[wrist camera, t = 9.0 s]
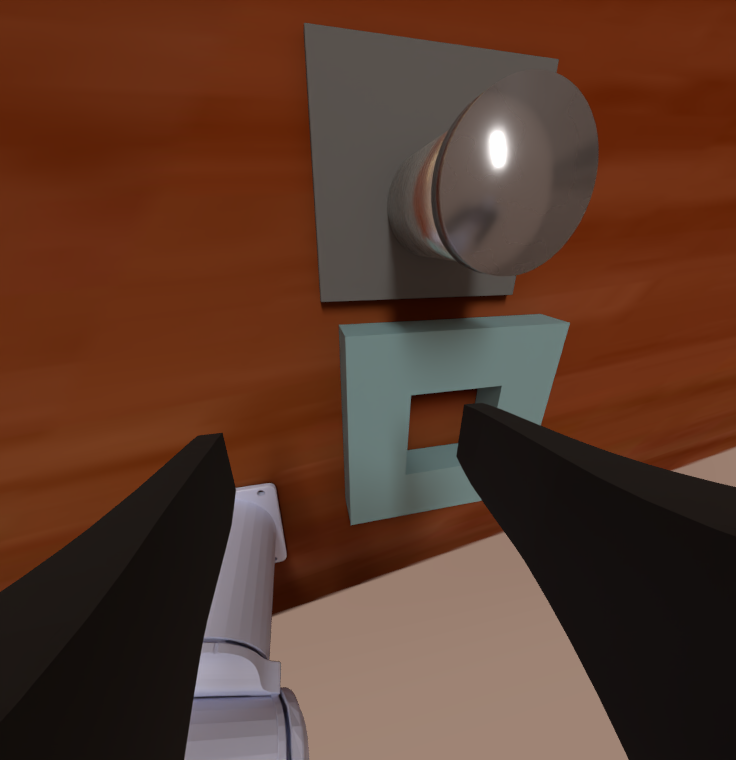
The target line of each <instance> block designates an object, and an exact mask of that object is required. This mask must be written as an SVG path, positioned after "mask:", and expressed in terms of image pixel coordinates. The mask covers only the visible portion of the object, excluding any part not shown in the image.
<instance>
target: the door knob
mask: <svg viewBox="0 0 736 760" xmlns="http://www.w3.org/2000/svg"><path fill="white" fill-rule="evenodd" d="M597 167H598V136H597V130H596V125H595V121H594V118H593V115H592V111H591V109H590V107H589V105H588V103H587V101H586V99H585V98H584V96H583V95H582V93H581V92H580V90H579V89H578V88H577V87H576V86H575V85H574V84H573V83H572V82H571V81H569V80H568V79H566V78H565V77H564V76H562V75H559V74H557V73H555V72H552V71H548V70H543V69H529V70H524V71H519V72H516V73H514V74H511V75H509V76H506V77H505V78H503V79H501V80H500V81H498V82H496V83H495V84H494V85H492V86H491V87H490V88H488V89H487V90H486V91H484V92H483V93H482V94H480V95H479V96H478V97H477V98H475V99H474V100H473V101H472V102H470V103H469V104H468V105H467V106H466V107H465V109H464V110H463V111H462V112H461V113H460V114H459V116H458V117H457V118H456V120H455V121H454V122H453V124H452V125H451V127H450V129H449V130H448V131H446V132H445V133H443V134H442V135H440V136H439V137H437V138H436V139H434V140H433V141H432V142H430V143H429V144H427V145H426V146H424V147H423V148H421V149H420V150H418V151H417V152H415V153H414V154H413V155H411V156H410V157H409V158H408V159H406V160H405V161H404V163H403V164H402V165H401V166H400V167H399V169H398V170H397V172H396V174H395V176H394V178H393V180H392V182H391V185H390V189H389V193H388V200H387V213H388V219H389V223H390V227H391V229H392V232H393V234H394V235H395V237H396V239H397V240H398V242H399V243H400V244H401V245H402V246H403V247H404V248H405V249H407V250H408V251H410V252H411V253H413V254H416V255H418V256H423V257H430V258H437V259H444V260H451V261H457V262H458V263H460V264H461V265H462V266H464V267H466V268H467V269H469V270H472V271H475V272H478V273H483V274H488V275H494V276H515V275H519V274H522V273H526V272H528V271H530V270H533V269H535V268H536V267H538V266H540V265H542V264H543V263H544V262H546V261H547V260H548V259H550V258H551V257H552V256H553V255H554V254H555V253H557V252H558V251H559V250H560V249H561V247H562V246H563V245H564V244H565V243H566V242H567V241H568V239H569V238H570V237H571V235H572V234H573V232H574V231H575V229H576V228H577V226H578V224H579V223H580V221H581V219H582V217H583V215H584V213H585V211H586V208H587V206H588V203H589V201H590V198H591V195H592V191H593V188H594V184H595V179H596V175H597Z"/></svg>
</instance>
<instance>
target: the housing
mask: <svg viewBox="0 0 736 760" xmlns="http://www.w3.org/2000/svg"><path fill="white" fill-rule="evenodd" d="M569 324H570V323H569V322H565V321H562V320H559V319H555V318H552V317H549V316H545V315H542V314H532V315H514V316H495V317H477V318H458V319H440V320H421V321H403V322H384V323H366V324H348V325H339V342H340V368H341V394H342V420H343V446H344V472H345V498H346V504H347V508H348V513H349V518H350V523H351V525H355V524H360V523H365V522H371V521H376V520H381V519H387V518H392V517H397V516H402V515H408V514H413V513H418V512H424V511H429V510H434V509H440V508H445V507H450V506H455V505H461V504H466V503H471V502H477V501H482V500H481V498H480V497H479V495H478V494H477V492H476V491H475V490H474V488H473V487H472V485H471V484H470V482H469V480H468V478H467V476H466V475H465V473H464V471H463V469H462V467H461V465H460V463H459V461H458V459H457V457H456V455H457V448H458V443H456V444H449V445H442V446H435V447H428V448H421V449H414V450H407V446H408V431H409V417H410V403H411V395H418V394H428V393H437V392H447V391H456V390H466V389H475V388H478V389H477V395H476V401H475V403H485V404H488V405H491V406H494V407H496V408H499V409H502V410H504V411H507V412H509V413H512V414H514V415H516V416H519V417H521V418H524V419H526V420H528V421H531V422H533V423H535V424H538V425H540V426H541V422H542V419H543V415H544V412H545V408H546V405H547V401H548V398H549V394H550V391H551V387H552V384H553V380H554V377H555V373H556V370H557V366H558V363H559V359H560V356H561V352H562V349H563V345H564V342H565V338H566V335H567V331H568V328H569Z"/></svg>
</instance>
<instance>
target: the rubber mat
mask: <svg viewBox="0 0 736 760" xmlns="http://www.w3.org/2000/svg"><path fill="white" fill-rule="evenodd" d="M304 45H305V61H306V77H307V93H308V109H309V125H310V141H311V157H312V173H313V189H314V206H315V222H316V238H317V254H318V270H319V286H320V300H321V302H333V301H359V300H386V299H412V298H438V297H464V296H490V295H512V294H513V289H514V284H515V279H516V275H515V276H494V275H488V274H483V273H478V272H475V271H472V270H469V269H467V268H466V267H464V266H462V265H461V264H460V263H458V262H457V261H451V260H444V259H437V258H430V257H423V256H418V255H416V254H413V253H411V252H410V251H408V250H407V249H405V248H404V247H403V246H402V245H401V244H400V243H399V242H398V240H397V239H396V237H395V235H394V234H393V232H392V229H391V227H390V223H389V219H388V213H387V200H388V193H389V189H390V185H391V182H392V180H393V178H394V176H395V174H396V172H397V170H398V169H399V167H400V166H401V165H402V164H403V163H404V161H405V160H406V159H408V158H409V157H410V156H411V155H413V154H414V153H415V152H417V151H418V150H420V149H421V148H423V147H424V146H426V145H427V144H429V143H430V142H432V141H433V140H434V139H436V138H437V137H439V136H440V135H442V134H443V133H445V132H446V131H448V130H449V129H450V127H451V125H452V124H453V122H454V121H455V120H456V118H457V117H458V116H459V114H460V113H461V112H462V111H463V110H464V109H465V107H466V106H467V105H468V104H469V103H470V102H472V101H473V100H474V99H475V98H477V97H478V96H479V95H480V94H482V93H483V92H484V91H486V90H487V89H488V88H490V87H491V86H492V85H494V84H495V83H496V82H498V81H500V80H501V79H503V78H505V77H506V76H509V75H511V74H514V73H516V72H519V71H524V70H529V69H543V70H548V71H552V72H555V73H556V71H557V66H558V61H559V59H553V58H546V57H539V56H532V55H525V54H518V53H511V52H504V51H497V50H490V49H483V48H476V47H469V46H462V45H455V44H448V43H441V42H434V41H427V40H420V39H413V38H407V37H400V36H393V35H386V34H379V33H372V32H365V31H358V30H351V29H344V28H337V27H330V26H323V25H316V24H309V23H304Z"/></svg>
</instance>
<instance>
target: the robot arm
mask: <svg viewBox="0 0 736 760" xmlns="http://www.w3.org/2000/svg"><path fill="white" fill-rule="evenodd" d="M456 457H457V459H458V461H459V463H460V465H461V467H462V469H463V471H464V473H465V475H466V476H467V478H468V480H469V482H470V484H471V485H472V487H473V488H474V490H475V491H476V492H477V494H478V495H479V497H480V498H481V500H482V501H483V502H484V504H485V505H486V507H487V508H488V510H489V511H490V512H491V514H492V515H493V517H494V518H495V519H496V521H497V522H498V523H499V525H500V526H501V528H502V529H503V530H504V532H505V533H506V535H507V536H508V537H509V539H510V540H511V542H512V543H513V544H514V546H515V547H516V549H517V550H518V552H519V553H520V555H521V556H522V558H523V559H524V561H525V562H526V564H527V566H528V567H529V569H530V571H531V572H532V574H533V576H534V578H535V579H536V581H537V582H538V584H539V586H540V588H541V589H542V591H543V593H544V595H545V596H546V598H547V600H548V601H549V603H550V605H551V607H552V609H553V611H554V612H555V614H556V616H557V618H558V620H559V621H560V623H561V625H562V627H563V629H564V631H565V632H566V634H567V636H568V638H569V640H570V642H571V643H572V645H573V647H574V649H575V651H576V653H577V655H578V657H579V659H580V661H581V663H582V665H583V667H584V669H585V670H586V673H587V675H588V677H589V678H590V680H591V682H592V684H593V686H594V688H595V690H596V692H597V694H598V696H599V698H600V700H601V702H602V704H603V706H604V709H605V711H606V712H607V715H608V717H609V719H610V721H611V723H612V725H613V727H614V729H615V732H616V734H617V736H618V738H619V740H620V742H621V744H622V746H623V748H624V750H625V752H626V754H627V757H628V759H629V760H736V487H733V486H728V485H724V484H719V483H715V482H712V481H707V480H704V479H700V478H696V477H692V476H688V475H684V474H680V473H677V472H673V471H669V470H666V469H662V468H659V467H655V466H652V465H648V464H645V463H642V462H639V461H636V460H633V459H629V458H626V457H623V456H620V455H617V454H614V453H611V452H608V451H605V450H602V449H599V448H597V447H594V446H591V445H589V444H586V443H583V442H580V441H578V440H575V439H572V438H570V437H567V436H565V435H562V434H560V433H557V432H555V431H552V430H550V429H547V428H545V427H543V426H540V425H538V424H535V423H533V422H531V421H528V420H526V419H524V418H521V417H519V416H516V415H514V414H512V413H509V412H507V411H504V410H502V409H499V408H496V407H494V406H491V405H488V404H485V403H474V404H466V405H464V410H463V416H462V423H461V429H460V435H459V442H458V448H457V455H456ZM260 490H263V492H259V491H260ZM286 557H287V551H286V545H285V539H284V533H283V527H282V521H281V515H280V509H279V503H278V497H277V490H276V486H275V485H274V484H272V483H266V484H259V485H252V486H246V487H239V488H235V484H234V479H233V475H232V471H231V467H230V463H229V459H228V454H227V450H226V446H225V442H224V438H223V433H217V434H209V435H200V436H197V437H196V438H195V439H193V440H192V441H191V442H190V443H189V444H188V445H186V446H185V447H184V448H183V449H182V450H181V451H180V452H178V453H177V454H176V455H175V456H174V457H173V458H172V459H171V460H170V461H168V462H167V463H166V464H165V465H164V466H163V467H162V468H161V469H159V470H158V471H157V472H156V473H155V474H154V475H153V476H151V477H150V478H149V479H148V480H147V481H146V482H145V483H144V484H142V485H141V486H140V487H139V488H138V489H137V490H135V491H134V492H133V493H132V494H131V495H129V496H128V497H127V498H126V499H124V500H123V501H122V502H121V503H120V504H118V505H117V506H116V507H115V508H113V509H112V510H111V511H110V512H108V513H107V514H106V515H105V516H104V517H102V518H101V519H100V520H99V521H97V522H96V523H95V524H94V525H93V526H91V527H90V528H89V529H87V530H86V531H85V532H84V533H82V534H81V535H80V536H78V537H77V538H76V539H74V540H73V541H72V542H70V543H69V544H68V545H66V546H65V547H64V548H62V549H61V550H60V551H58V552H57V553H55V554H54V555H53V556H51V557H50V558H48V559H47V560H46V561H44V562H43V563H41V564H40V565H39V566H37V567H36V568H34V569H33V570H32V571H30V572H29V573H27V574H26V575H25V576H23V577H22V578H20V579H19V580H17V581H16V582H14V583H13V584H12V585H10V586H9V587H7V588H6V589H4V590H3V591H1V592H0V760H309V747H308V738H307V731H306V725H305V721H304V717H303V715H302V712H301V710H300V707H299V704H298V701H297V699H296V697H295V695H294V693H293V692H292V691H291V690H290V689H288V688H286V687H285V688H284V687H283V688H280V679H281V663H280V662H279V661H270V660H269V656H270V638H271V620H272V602H273V584H274V566H275V563H276V562H281V561H284V560H285V559H286Z"/></svg>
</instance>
